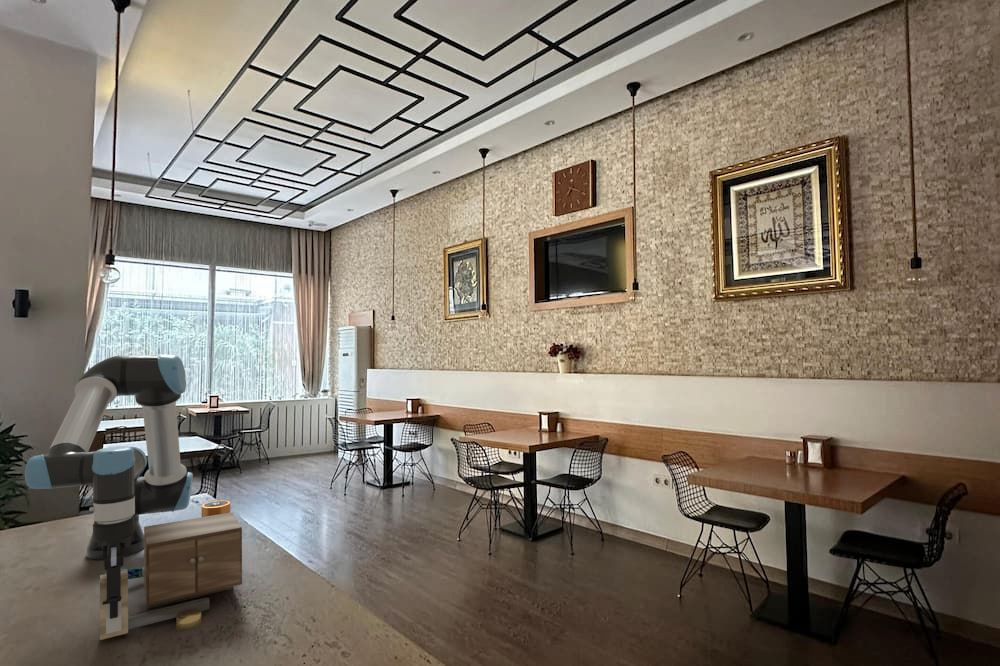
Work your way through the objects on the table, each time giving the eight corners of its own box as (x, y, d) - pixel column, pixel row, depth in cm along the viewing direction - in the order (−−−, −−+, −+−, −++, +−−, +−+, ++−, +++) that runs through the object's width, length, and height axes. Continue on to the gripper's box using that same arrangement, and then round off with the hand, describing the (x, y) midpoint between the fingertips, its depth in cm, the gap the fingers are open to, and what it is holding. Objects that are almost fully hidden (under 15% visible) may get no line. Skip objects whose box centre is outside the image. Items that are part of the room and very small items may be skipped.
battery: (225, 579, 151) (225, 505, 152) (197, 581, 150) (197, 507, 150) (234, 569, 158) (233, 498, 159) (207, 571, 157) (206, 499, 158)
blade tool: (100, 630, 123) (100, 575, 123) (207, 603, 134) (207, 553, 135) (99, 640, 118) (99, 583, 119) (210, 611, 130) (210, 560, 130)
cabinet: (144, 601, 139) (144, 526, 139) (232, 581, 150) (232, 512, 150) (146, 628, 125) (146, 546, 126) (243, 604, 137) (242, 528, 137)
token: (175, 623, 128) (175, 612, 128) (199, 617, 131) (199, 606, 131) (177, 632, 124) (177, 621, 124) (202, 626, 126) (202, 615, 127)
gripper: (94, 511, 128) (94, 614, 127) (90, 533, 113) (90, 650, 112) (133, 506, 132) (133, 605, 131) (135, 526, 117) (135, 638, 116)
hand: (114, 625), depth 122 cm, fingers closed on blade tool, 5 cm apart
